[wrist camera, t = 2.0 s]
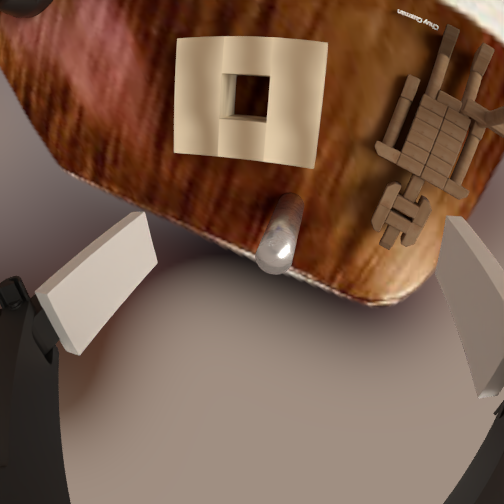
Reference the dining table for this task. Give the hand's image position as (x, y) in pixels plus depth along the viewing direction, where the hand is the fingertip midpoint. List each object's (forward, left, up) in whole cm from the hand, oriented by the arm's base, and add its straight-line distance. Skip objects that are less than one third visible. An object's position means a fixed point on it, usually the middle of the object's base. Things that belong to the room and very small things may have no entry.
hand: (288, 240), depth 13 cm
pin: (-2, -7, -22) cm, 23 cm away
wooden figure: (+11, +4, -23) cm, 25 cm away
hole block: (-7, +5, -22) cm, 24 cm away
